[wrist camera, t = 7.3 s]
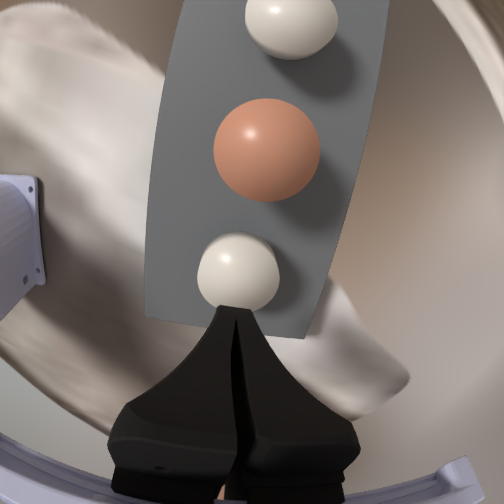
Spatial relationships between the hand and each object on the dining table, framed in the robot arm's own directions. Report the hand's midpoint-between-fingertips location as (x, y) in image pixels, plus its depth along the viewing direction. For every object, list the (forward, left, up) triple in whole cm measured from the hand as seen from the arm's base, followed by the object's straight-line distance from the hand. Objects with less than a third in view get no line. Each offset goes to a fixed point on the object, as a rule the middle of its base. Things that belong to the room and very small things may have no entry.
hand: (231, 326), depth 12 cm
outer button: (+14, 0, -7) cm, 15 cm away
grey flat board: (+7, 0, -9) cm, 12 cm away
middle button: (+7, 0, -5) cm, 9 cm away
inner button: (0, 0, -7) cm, 7 cm away
